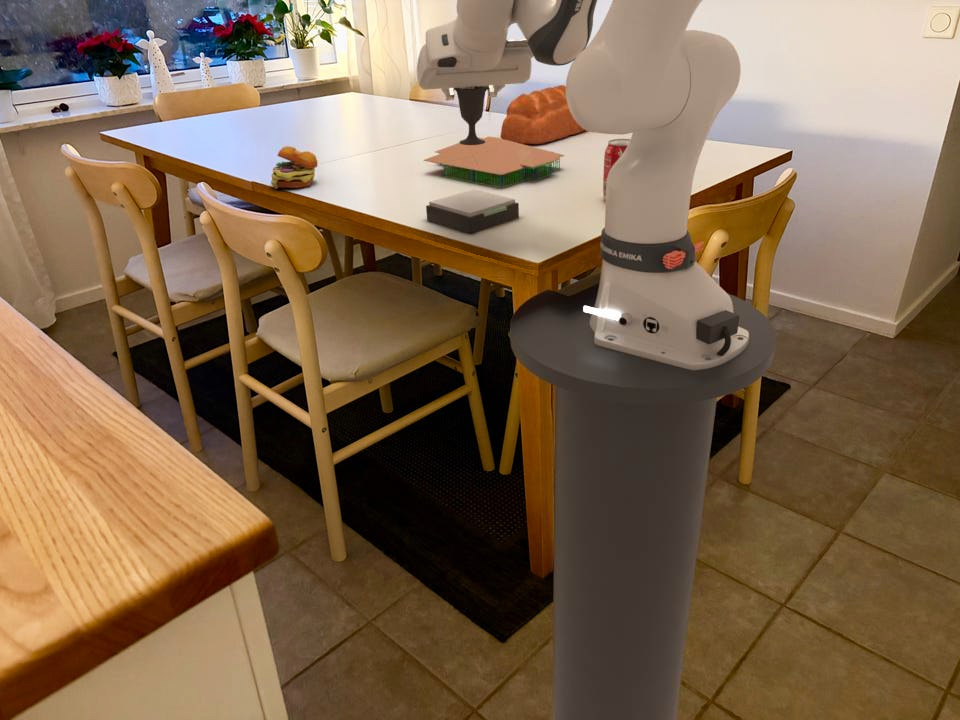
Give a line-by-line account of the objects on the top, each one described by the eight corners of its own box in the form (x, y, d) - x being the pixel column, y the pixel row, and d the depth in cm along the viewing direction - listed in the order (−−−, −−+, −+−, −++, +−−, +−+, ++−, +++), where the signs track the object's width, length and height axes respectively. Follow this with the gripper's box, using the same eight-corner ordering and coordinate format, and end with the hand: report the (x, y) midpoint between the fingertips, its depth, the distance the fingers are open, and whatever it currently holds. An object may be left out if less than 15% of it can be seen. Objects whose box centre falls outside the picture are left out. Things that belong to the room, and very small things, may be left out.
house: (510, 190, 164) (510, 153, 160) (412, 170, 185) (409, 137, 181) (573, 170, 179) (574, 135, 175) (475, 153, 199) (474, 122, 195)
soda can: (643, 198, 155) (647, 140, 149) (624, 206, 150) (627, 146, 145) (615, 193, 159) (617, 136, 154) (595, 201, 155) (597, 142, 149)
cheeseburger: (263, 184, 178) (265, 142, 175) (304, 187, 184) (307, 146, 181) (279, 192, 170) (282, 147, 167) (322, 194, 177) (325, 152, 173)
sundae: (497, 142, 140) (496, 57, 133) (471, 147, 136) (469, 60, 129) (473, 137, 144) (471, 55, 137) (447, 143, 140) (444, 58, 133)
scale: (519, 218, 146) (519, 199, 145) (471, 234, 139) (470, 214, 137) (474, 206, 155) (473, 188, 153) (426, 220, 147) (425, 201, 146)
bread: (494, 141, 212) (493, 93, 206) (557, 123, 233) (557, 79, 227) (538, 147, 203) (538, 97, 197) (599, 127, 224) (601, 82, 218)
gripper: (535, 24, 126) (521, 78, 139) (416, 30, 123) (414, 85, 136) (542, 54, 124) (527, 106, 138) (422, 61, 121) (419, 114, 134)
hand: (470, 95), depth 137 cm, fingers closed on sundae, 7 cm apart
